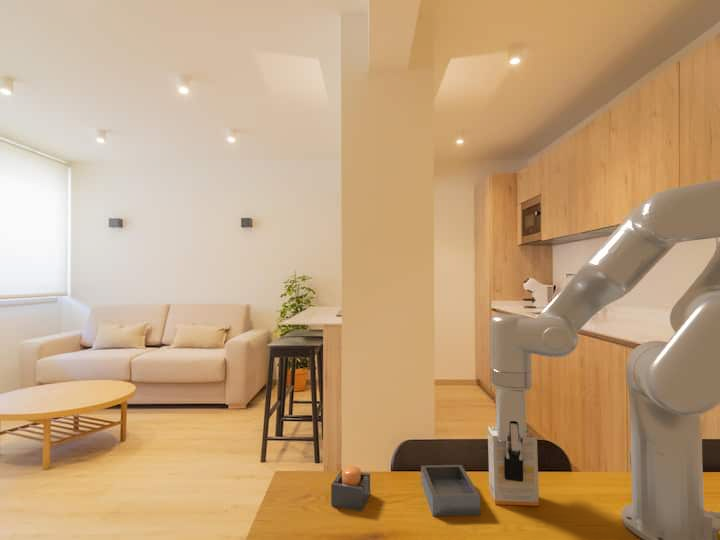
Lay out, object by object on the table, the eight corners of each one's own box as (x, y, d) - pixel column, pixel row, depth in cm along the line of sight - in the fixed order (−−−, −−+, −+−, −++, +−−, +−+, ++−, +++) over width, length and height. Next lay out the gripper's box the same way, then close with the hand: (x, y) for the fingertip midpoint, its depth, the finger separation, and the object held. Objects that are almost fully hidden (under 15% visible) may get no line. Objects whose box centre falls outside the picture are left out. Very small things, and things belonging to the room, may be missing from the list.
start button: (362, 488, 76) (362, 467, 76) (357, 498, 73) (357, 476, 73) (345, 485, 77) (345, 465, 77) (339, 495, 74) (339, 474, 74)
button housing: (370, 493, 77) (370, 473, 77) (361, 511, 71) (361, 489, 71) (341, 489, 79) (341, 469, 79) (331, 505, 73) (331, 484, 73)
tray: (461, 481, 81) (461, 464, 81) (480, 515, 70) (479, 495, 70) (421, 482, 81) (421, 465, 81) (432, 516, 69) (432, 496, 70)
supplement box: (530, 493, 77) (529, 426, 77) (539, 507, 72) (538, 436, 72) (488, 491, 78) (487, 425, 78) (493, 505, 73) (492, 434, 73)
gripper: (489, 367, 85) (490, 451, 84) (492, 388, 68) (493, 492, 68) (526, 369, 83) (527, 455, 82) (538, 391, 66) (540, 499, 66)
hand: (512, 471), depth 75 cm, fingers closed on supplement box, 5 cm apart
